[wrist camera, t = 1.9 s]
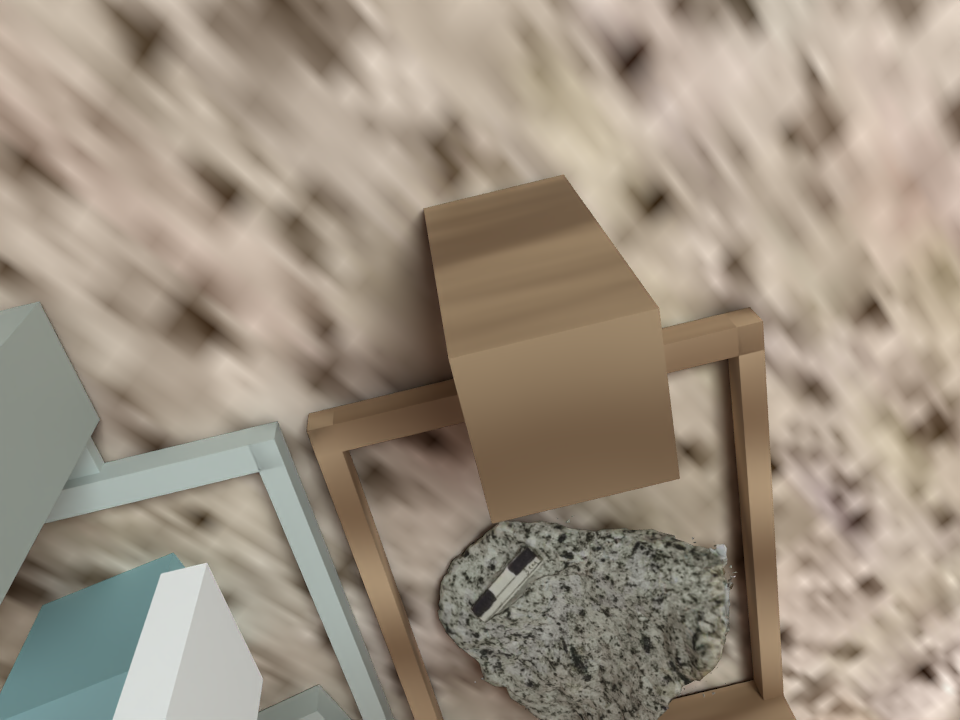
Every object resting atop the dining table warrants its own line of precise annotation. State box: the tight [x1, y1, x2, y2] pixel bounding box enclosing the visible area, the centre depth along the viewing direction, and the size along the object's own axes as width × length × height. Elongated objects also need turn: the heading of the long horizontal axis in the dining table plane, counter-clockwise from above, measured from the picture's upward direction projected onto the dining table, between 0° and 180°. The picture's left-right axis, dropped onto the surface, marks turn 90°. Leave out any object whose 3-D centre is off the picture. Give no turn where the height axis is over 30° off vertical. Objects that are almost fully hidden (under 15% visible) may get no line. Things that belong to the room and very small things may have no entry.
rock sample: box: [438, 516, 737, 720], centre depth 29 cm, size 10×8×9 cm
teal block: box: [0, 553, 185, 720], centre depth 28 cm, size 5×5×5 cm
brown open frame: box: [307, 175, 796, 720], centre depth 25 cm, size 24×14×9 cm, turn 12°
